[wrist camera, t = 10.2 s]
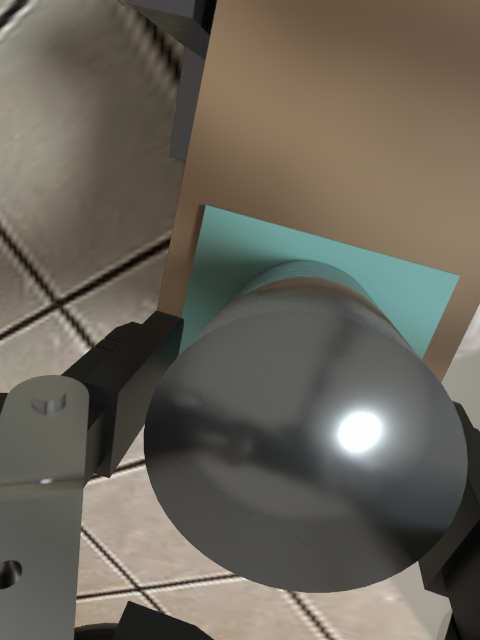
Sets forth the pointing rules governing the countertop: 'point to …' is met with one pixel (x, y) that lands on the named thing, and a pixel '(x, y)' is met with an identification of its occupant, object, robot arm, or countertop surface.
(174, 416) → the cylinder
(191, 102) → the seesaw stand
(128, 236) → the countertop surface
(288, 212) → the beam
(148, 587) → the countertop surface
